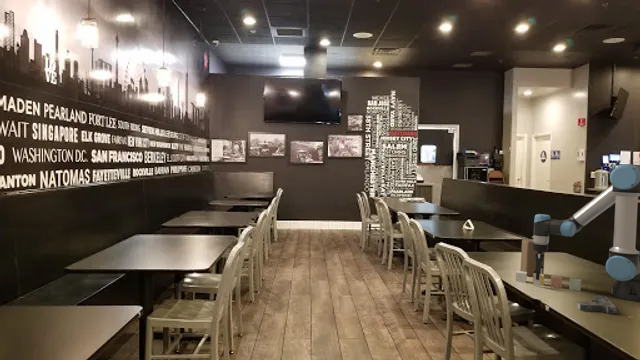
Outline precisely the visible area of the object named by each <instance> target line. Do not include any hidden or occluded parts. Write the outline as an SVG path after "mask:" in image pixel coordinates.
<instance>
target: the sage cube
mask: <svg viewBox="0 0 640 360" xmlns="http://www.w3.org/2000/svg"><path fill="white" fill-rule="evenodd" d="M568 283H569V284H568V288H569V289H568V290H571V291H577V290H578V291H579V292H581V289H582V287H581V285H582V279H581V278H572V277H569V282H568Z"/></svg>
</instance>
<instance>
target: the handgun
mask: <svg viewBox="0 0 640 360" xmlns="http://www.w3.org/2000/svg"><path fill="white" fill-rule="evenodd" d="M577 309H578V310H579V309H580V310H583V311H582V312H589V311H601V312H600V313H605V312H606V314H614V315H615V314H618V313H619V310H618V309H619V307H618V306H616V305H615V303H613V302H612V301H611V300H609V298H607V296H602V295H595V297H594V299H590V301H579V300H578V301H577ZM580 310H579V311H580Z"/></svg>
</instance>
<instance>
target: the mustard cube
mask: <svg viewBox="0 0 640 360" xmlns="http://www.w3.org/2000/svg"><path fill="white" fill-rule="evenodd" d="M534 280H535V273H534V274H533V276H532V284H533V285H534ZM544 285H545V274H541V278H540V286H544Z"/></svg>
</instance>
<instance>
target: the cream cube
mask: <svg viewBox="0 0 640 360" xmlns="http://www.w3.org/2000/svg"><path fill="white" fill-rule="evenodd" d="M527 277H528V276H527V272H523V271H520V270H516V271H515V282H516V283H524V284H526V283H527V280H528V279H527Z"/></svg>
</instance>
